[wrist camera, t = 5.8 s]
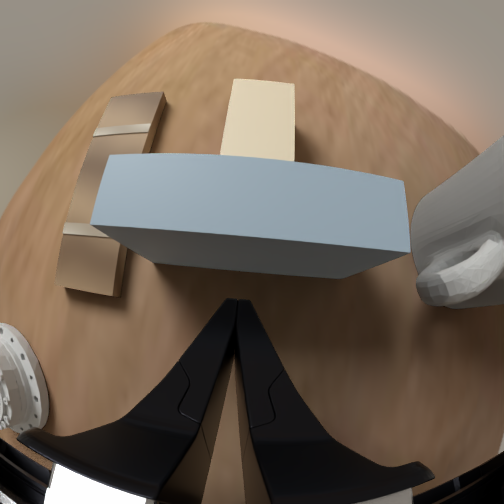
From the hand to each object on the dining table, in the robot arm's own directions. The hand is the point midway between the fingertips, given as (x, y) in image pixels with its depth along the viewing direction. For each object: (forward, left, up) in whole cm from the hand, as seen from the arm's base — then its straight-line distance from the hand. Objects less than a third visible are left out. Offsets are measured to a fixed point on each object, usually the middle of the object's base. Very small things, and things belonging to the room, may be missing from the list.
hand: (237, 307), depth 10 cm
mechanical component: (-9, +19, -7) cm, 23 cm away
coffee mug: (+5, -15, -7) cm, 17 cm away
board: (+8, +10, -7) cm, 15 cm away
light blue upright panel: (+8, 0, -7) cm, 11 cm away
